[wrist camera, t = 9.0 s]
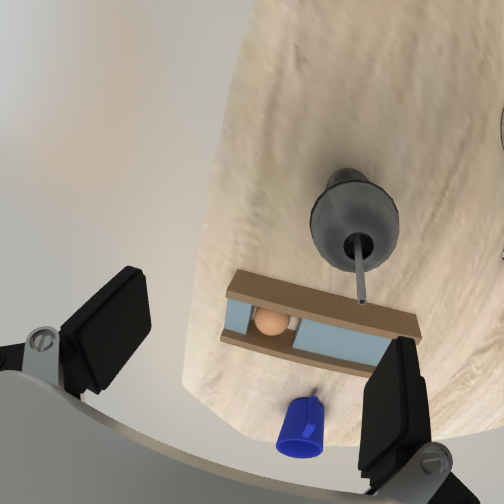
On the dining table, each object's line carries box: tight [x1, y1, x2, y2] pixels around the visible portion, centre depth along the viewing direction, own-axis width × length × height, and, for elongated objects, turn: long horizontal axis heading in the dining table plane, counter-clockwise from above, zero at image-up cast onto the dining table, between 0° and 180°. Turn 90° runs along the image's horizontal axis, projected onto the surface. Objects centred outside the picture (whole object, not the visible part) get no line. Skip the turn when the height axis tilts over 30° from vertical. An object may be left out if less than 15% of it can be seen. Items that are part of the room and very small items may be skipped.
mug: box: [276, 396, 324, 458], centre depth 47 cm, size 8×12×10 cm
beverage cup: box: [310, 168, 399, 305], centre depth 24 cm, size 7×7×20 cm
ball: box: [254, 307, 290, 336], centre depth 41 cm, size 5×5×5 cm
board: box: [220, 270, 422, 378], centre depth 39 cm, size 26×9×5 cm, turn 81°
